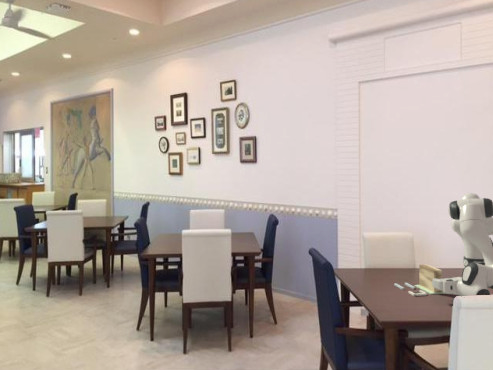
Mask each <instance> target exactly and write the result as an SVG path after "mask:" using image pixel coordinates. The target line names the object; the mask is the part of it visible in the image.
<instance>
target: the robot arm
mask: <svg viewBox="0 0 493 370" xmlns="http://www.w3.org/2000/svg"><path fill="white" fill-rule="evenodd" d="M447 209H448V214H449V216H450V218H451V219H452V220H451V222H450V226H451V228H452V230H453V231H454V233H456V234H458V236H459V237H460V239H461V240H462V242H463V248H464V249H463V250H464V251H463V252H464V253H463V254H464V255H463V269H462V274H461V276H456V277H454V276H450V277H447V278H442V279H438V278H434V279H433V280H432V286H433V287H435V288H436V289H438V290H441V291H443V292H444V293H445V294H447V295H456V296H460V297H462V296H467V295H490V296H491V292H490V289H491V290H493V239H492V238H491V237H490V236H493V200H492V199H490V198H487V197H483V198H481V197H480V196H479V195H478V194H476V193H473V192H468V193H465V194H464V195H463V196H462V197H461V199H460V200H454V201H451V202H449V205H448V208H447Z"/></svg>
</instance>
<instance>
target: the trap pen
mask: <svg viewBox="0 0 493 370" xmlns="http://www.w3.org/2000/svg"><path fill="white" fill-rule="evenodd" d="M407 292H408V294H409V295H411V296H413V297H420V296H423V297H424V296H428V293H427V292H425V291H423V290H421V289H419V291H411V290H408V291H407Z"/></svg>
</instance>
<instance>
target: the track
mask: <svg viewBox="0 0 493 370" xmlns="http://www.w3.org/2000/svg"><path fill="white" fill-rule="evenodd" d="M394 286H395V287H396V288H399V289H400V290H402V291H403V290H405V287H404V286H406V287H409V288H410V289H412V290H416V287H415V285H412V284H410V283H408V282H404V286H403V285H400V284H399V283H394Z"/></svg>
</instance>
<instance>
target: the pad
mask: <svg viewBox="0 0 493 370" xmlns="http://www.w3.org/2000/svg"><path fill="white" fill-rule="evenodd" d="M414 287H415V288H417V289H419V290H422V291H424V292H426V293H427V294H429V295H442V294H444V295H445V294H446V293H444V292H443V291H442V292H437V293H434V292H432V291H430V290H428V289H426V288H424V287H422V286H420V285H419V284H414Z"/></svg>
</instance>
